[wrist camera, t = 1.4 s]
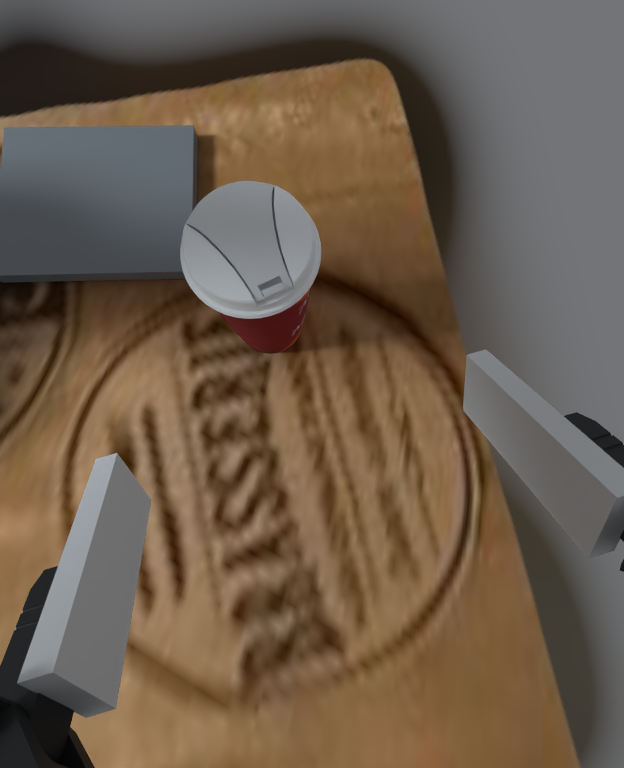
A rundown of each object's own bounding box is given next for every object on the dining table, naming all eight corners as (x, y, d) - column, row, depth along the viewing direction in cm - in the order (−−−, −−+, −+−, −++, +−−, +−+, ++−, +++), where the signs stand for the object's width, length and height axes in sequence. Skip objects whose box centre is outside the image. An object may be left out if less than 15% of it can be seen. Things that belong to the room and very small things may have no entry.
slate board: (2, 282, 36) (-11, 275, 34) (16, 140, 38) (4, 127, 37) (196, 278, 36) (191, 271, 35) (197, 137, 39) (193, 125, 37)
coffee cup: (329, 342, 36) (348, 271, 21) (249, 380, 35) (209, 335, 20) (290, 266, 37) (281, 147, 22) (212, 301, 36) (147, 203, 21)
